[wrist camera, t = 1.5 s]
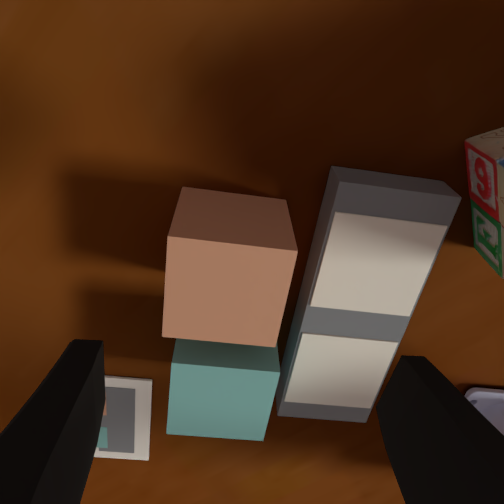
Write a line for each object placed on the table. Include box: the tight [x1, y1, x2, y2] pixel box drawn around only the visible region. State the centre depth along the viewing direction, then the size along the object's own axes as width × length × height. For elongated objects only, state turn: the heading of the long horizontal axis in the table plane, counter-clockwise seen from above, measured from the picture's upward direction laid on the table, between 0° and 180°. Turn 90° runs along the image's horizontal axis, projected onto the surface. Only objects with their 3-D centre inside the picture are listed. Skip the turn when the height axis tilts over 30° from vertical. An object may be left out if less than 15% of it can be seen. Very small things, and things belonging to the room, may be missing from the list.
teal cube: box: [166, 338, 280, 441], centre depth 23 cm, size 5×5×5 cm
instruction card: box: [94, 375, 152, 460], centre depth 28 cm, size 8×6×1 cm
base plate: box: [275, 166, 462, 423], centre depth 23 cm, size 15×6×2 cm, turn 172°
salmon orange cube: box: [162, 187, 298, 347], centre depth 20 cm, size 5×5×5 cm
